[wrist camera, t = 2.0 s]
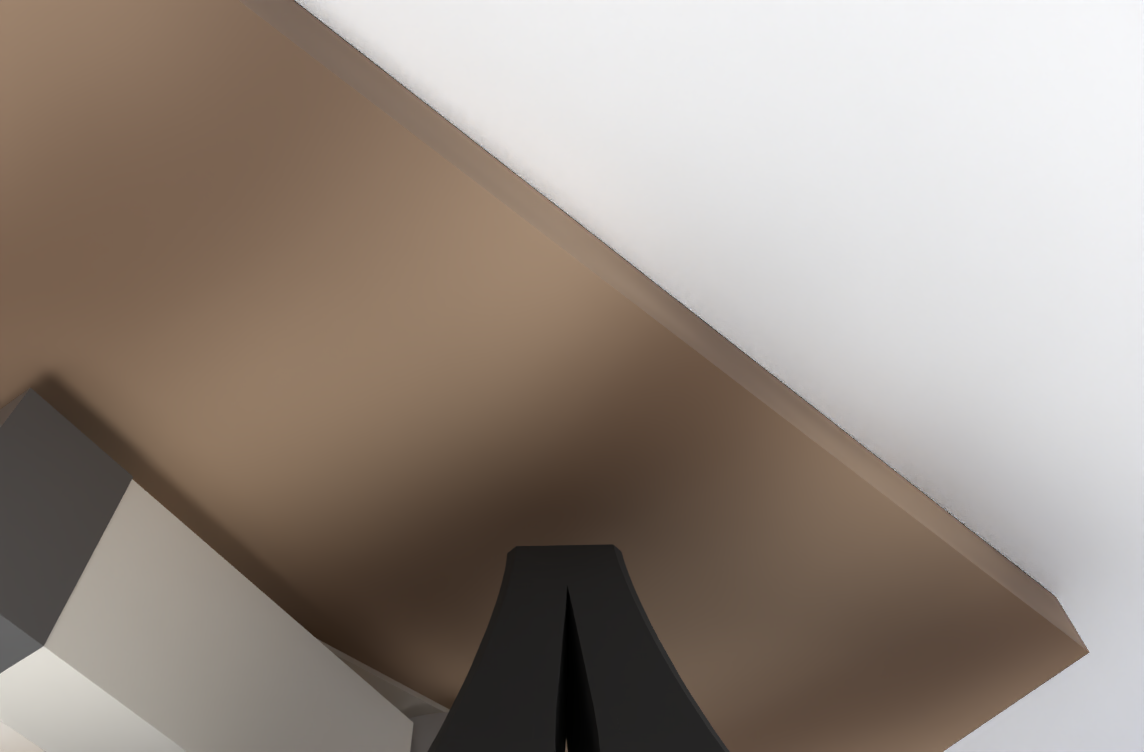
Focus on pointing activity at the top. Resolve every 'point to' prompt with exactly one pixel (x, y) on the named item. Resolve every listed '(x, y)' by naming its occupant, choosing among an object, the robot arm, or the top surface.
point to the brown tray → (451, 390)
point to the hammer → (152, 623)
